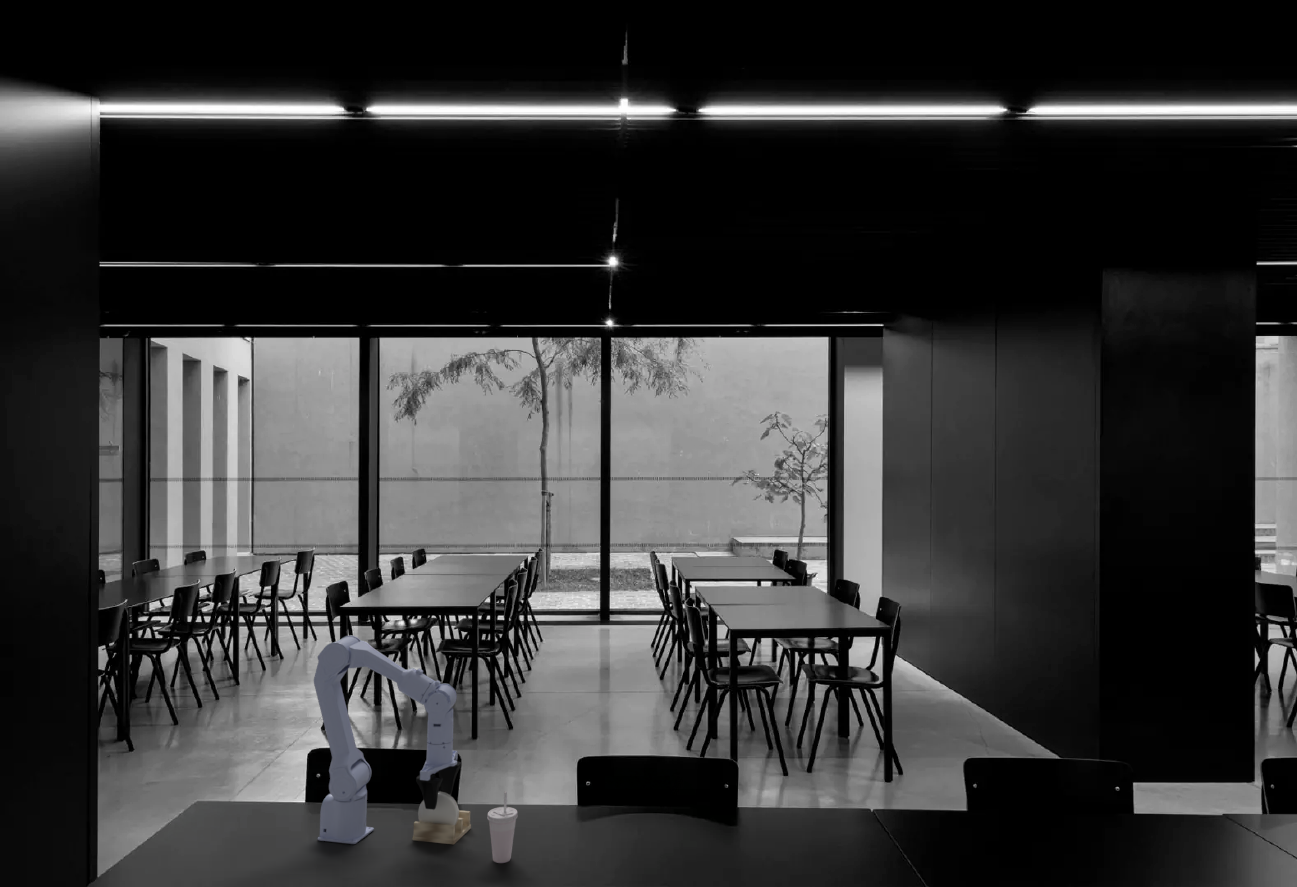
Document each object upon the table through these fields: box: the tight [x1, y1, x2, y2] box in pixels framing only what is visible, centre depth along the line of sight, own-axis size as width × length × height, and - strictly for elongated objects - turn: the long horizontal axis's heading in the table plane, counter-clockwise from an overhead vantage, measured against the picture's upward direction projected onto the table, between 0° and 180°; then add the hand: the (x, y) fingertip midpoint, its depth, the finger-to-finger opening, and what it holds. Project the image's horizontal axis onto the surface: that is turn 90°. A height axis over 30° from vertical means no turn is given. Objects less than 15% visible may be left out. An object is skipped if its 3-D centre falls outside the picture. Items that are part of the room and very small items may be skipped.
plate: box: [417, 791, 460, 825], centre depth 183 cm, size 9×2×9 cm, turn 78°
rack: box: [412, 809, 472, 845], centre depth 184 cm, size 10×9×4 cm
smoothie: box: [486, 790, 518, 864], centre depth 172 cm, size 6×6×14 cm
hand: (438, 802), depth 183 cm, fingers open, 7 cm apart
